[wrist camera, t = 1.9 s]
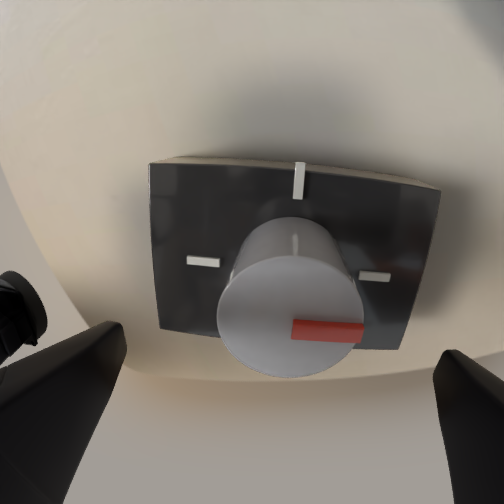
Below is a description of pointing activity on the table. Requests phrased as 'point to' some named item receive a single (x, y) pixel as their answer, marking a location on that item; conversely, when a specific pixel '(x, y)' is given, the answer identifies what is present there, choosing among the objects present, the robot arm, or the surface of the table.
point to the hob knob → (290, 301)
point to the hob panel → (277, 206)
